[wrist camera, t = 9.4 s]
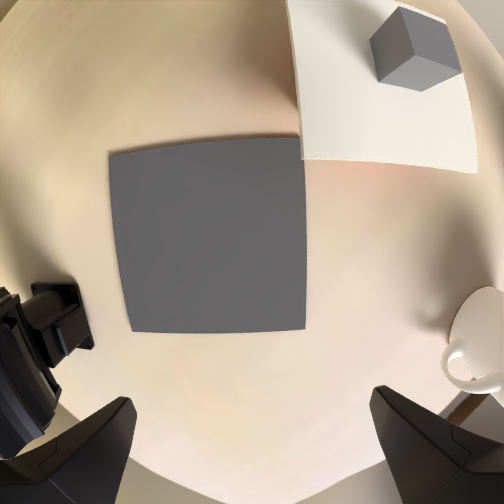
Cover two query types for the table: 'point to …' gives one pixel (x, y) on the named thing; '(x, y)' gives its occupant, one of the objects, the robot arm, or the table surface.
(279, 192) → the mat
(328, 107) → the lid
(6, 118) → the table surface
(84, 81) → the table surface
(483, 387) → the mug
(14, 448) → the robot arm
